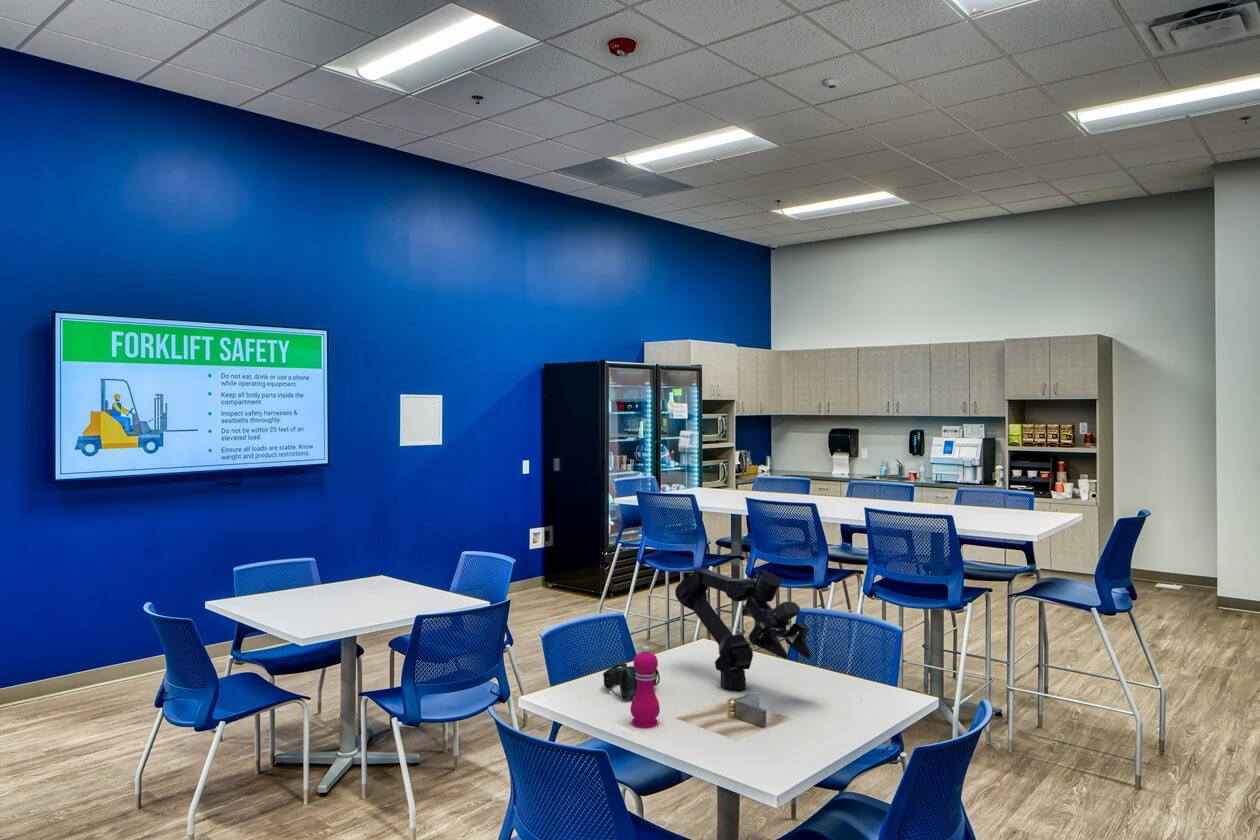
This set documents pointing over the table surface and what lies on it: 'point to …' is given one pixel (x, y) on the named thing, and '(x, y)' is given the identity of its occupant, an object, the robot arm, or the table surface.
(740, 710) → the swing leaf
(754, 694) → the fixed leaf
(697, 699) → the table surface
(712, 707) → the board
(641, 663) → the pepper mill
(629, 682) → the headphones
